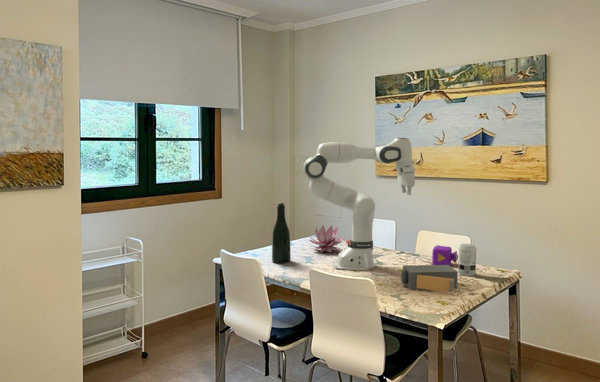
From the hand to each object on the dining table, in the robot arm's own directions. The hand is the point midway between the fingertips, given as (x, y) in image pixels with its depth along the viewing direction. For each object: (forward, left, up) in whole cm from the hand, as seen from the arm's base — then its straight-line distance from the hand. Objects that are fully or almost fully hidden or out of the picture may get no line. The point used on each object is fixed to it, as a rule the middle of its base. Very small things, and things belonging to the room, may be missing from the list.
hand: (406, 193), depth 260 cm
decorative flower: (-39, +36, -39) cm, 66 cm away
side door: (0, -48, -38) cm, 61 cm away
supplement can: (+26, -20, -39) cm, 51 cm away
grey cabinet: (+1, -37, -39) cm, 54 cm away
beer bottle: (-67, +13, -39) cm, 79 cm away
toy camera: (+22, 0, -39) cm, 45 cm away
